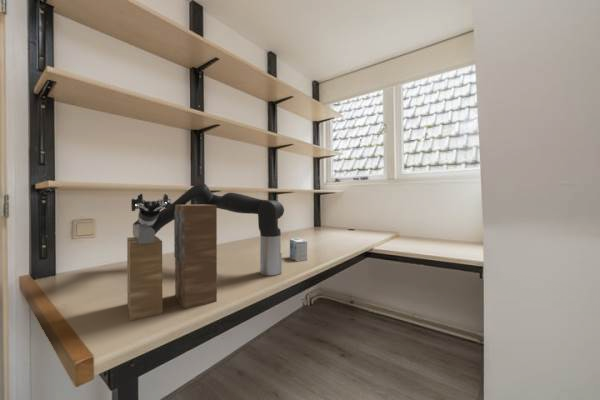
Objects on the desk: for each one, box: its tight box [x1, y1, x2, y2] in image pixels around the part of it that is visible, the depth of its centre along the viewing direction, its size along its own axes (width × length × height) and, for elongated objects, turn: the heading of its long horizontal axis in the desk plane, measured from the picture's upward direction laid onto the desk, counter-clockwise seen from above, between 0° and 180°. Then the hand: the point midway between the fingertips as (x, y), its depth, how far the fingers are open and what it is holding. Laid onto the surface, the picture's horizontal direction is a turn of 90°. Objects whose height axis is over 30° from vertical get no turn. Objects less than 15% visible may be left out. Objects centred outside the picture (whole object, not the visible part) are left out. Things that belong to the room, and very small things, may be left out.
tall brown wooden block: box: [173, 203, 218, 310], centre depth 88 cm, size 14×11×32 cm
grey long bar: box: [132, 224, 156, 244], centre depth 83 cm, size 22×4×4 cm, turn 37°
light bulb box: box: [289, 237, 308, 261], centre depth 146 cm, size 11×7×11 cm, turn 24°
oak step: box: [126, 235, 163, 321], centre depth 80 cm, size 14×8×22 cm, turn 37°
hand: (154, 195), depth 103 cm, fingers open, 8 cm apart
